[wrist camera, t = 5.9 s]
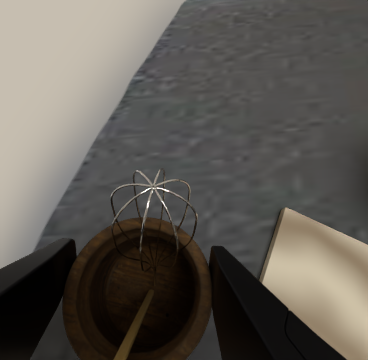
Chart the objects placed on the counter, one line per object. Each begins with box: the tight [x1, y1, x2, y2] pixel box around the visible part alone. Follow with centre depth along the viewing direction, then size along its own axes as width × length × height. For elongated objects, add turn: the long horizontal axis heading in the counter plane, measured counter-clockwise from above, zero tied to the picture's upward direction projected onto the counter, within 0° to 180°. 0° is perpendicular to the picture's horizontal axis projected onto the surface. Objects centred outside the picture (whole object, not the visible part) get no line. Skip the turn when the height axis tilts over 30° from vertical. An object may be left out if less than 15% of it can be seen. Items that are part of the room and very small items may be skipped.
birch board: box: [259, 207, 368, 360], centre depth 18 cm, size 20×14×1 cm
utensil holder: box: [62, 168, 212, 360], centre depth 8 cm, size 6×6×12 cm
